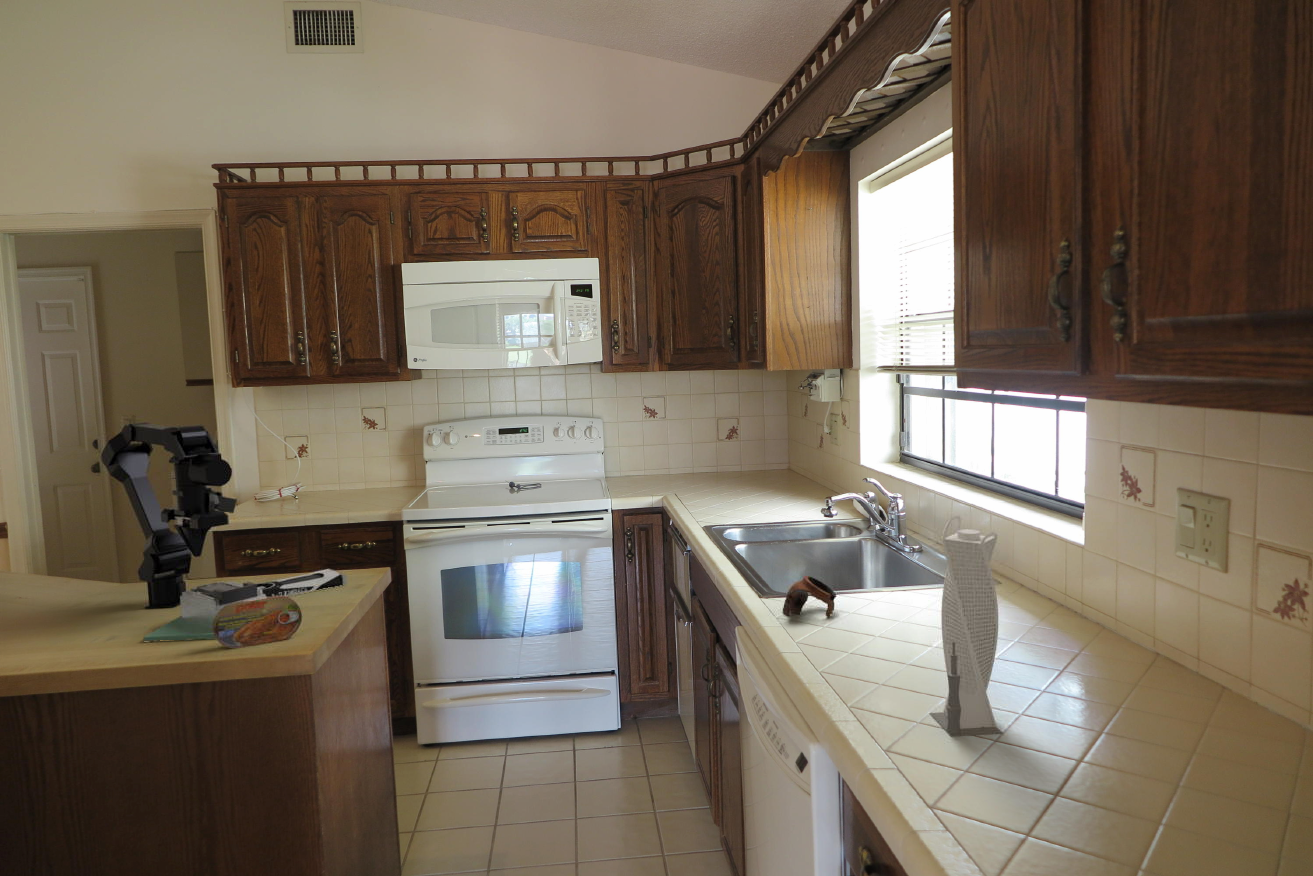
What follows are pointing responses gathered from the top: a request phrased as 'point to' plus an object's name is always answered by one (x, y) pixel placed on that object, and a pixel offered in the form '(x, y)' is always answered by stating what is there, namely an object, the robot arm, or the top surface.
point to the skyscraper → (968, 632)
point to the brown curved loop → (799, 595)
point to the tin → (257, 621)
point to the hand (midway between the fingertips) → (197, 556)
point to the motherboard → (180, 631)
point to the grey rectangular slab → (212, 588)
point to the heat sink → (215, 602)
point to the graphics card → (303, 583)
